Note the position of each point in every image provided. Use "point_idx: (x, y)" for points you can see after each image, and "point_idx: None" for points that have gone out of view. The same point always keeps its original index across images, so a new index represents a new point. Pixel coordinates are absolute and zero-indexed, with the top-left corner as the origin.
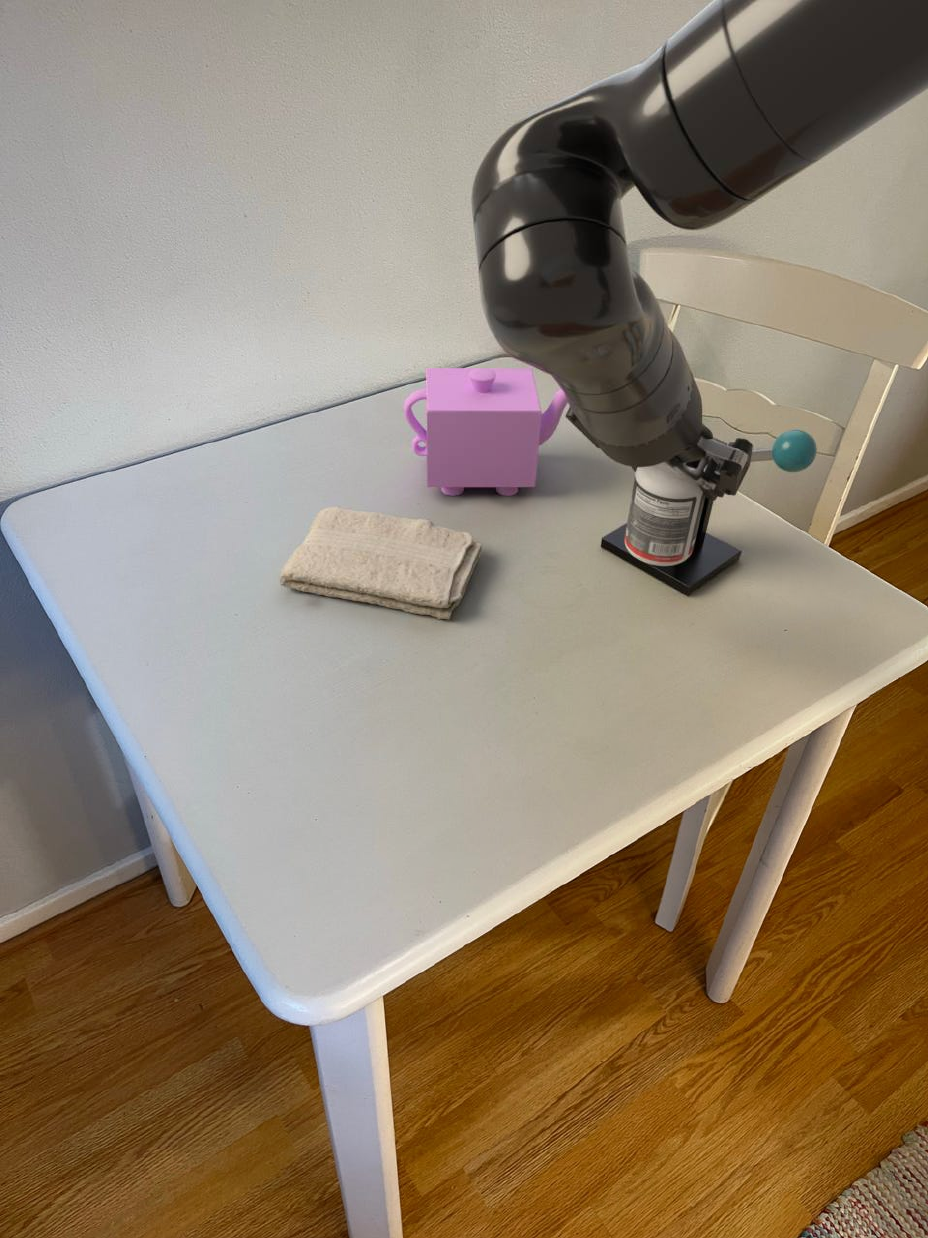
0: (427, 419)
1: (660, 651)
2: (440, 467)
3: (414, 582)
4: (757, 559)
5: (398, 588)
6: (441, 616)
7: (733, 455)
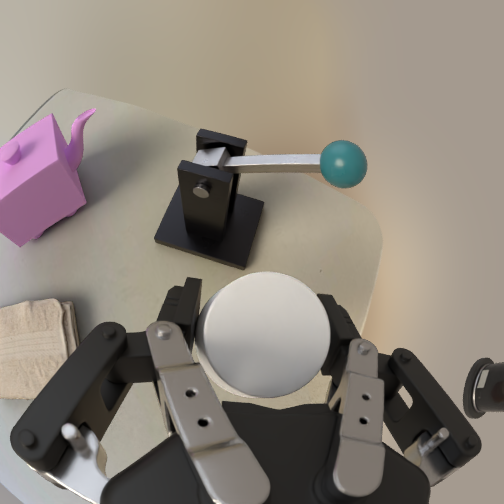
0: None
1: None
2: (17, 234)
3: None
4: (273, 199)
5: None
6: None
7: (450, 474)
